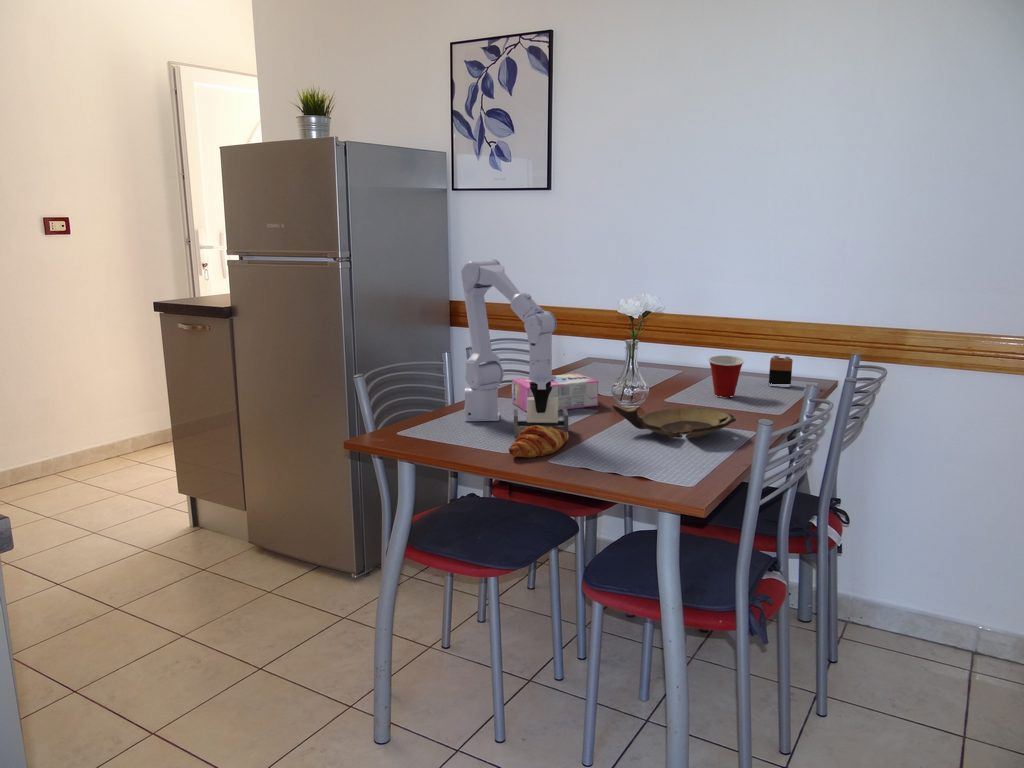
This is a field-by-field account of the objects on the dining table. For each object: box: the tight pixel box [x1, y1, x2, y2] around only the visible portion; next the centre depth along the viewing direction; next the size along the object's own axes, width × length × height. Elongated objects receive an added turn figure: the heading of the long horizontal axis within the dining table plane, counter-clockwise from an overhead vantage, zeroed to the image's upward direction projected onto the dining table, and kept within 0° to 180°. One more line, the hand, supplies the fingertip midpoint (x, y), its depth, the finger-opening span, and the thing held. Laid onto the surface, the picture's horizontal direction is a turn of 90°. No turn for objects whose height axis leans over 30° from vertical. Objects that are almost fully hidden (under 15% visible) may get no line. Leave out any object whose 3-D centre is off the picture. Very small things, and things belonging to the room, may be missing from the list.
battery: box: [768, 355, 793, 385], centre depth 257 cm, size 4×7×10 cm, turn 68°
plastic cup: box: [708, 355, 745, 397], centre depth 244 cm, size 11×11×12 cm
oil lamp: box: [612, 404, 737, 439], centre depth 204 cm, size 22×30×8 cm
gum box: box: [511, 372, 599, 413], centre depth 235 cm, size 24×8×14 cm
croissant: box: [508, 425, 569, 459], centre depth 190 cm, size 21×10×8 cm, turn 139°
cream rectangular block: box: [526, 397, 559, 423], centre depth 204 cm, size 8×3×6 cm, turn 90°
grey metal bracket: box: [513, 408, 569, 438], centre depth 205 cm, size 14×7×6 cm, turn 90°
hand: (540, 410), depth 204 cm, fingers closed on cream rectangular block, 3 cm apart
